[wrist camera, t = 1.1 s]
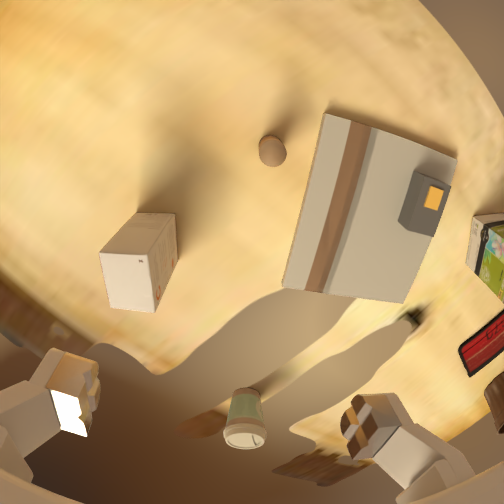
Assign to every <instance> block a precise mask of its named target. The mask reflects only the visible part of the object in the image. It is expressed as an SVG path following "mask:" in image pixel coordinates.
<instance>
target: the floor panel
mask: <svg viewBox="0 0 504 504" xmlns="http://www.w3.org/2000/svg"><path fill="white" fill-rule="evenodd" d="M457 161H458V160H456V159H454V158H452V157H450V156H447V155H445V154H443V153H440V152H438V151H436V150H433V149H431V148H428V147H426V146H423V145H421V144H418V143H416V142H413V141H411V140H408V139H405V138H403V137H400V136H397V135H394V134H391V133H388V132H386V131H383V130H380V129H377V128H374V127H371V126H367V125H364V124H361V123H358V122H354V121H351V120H348V119H344V118H341V117H337V116H333V115H330V114H326V113H323V118H322V122H321V127H320V131H319V135H318V140H317V144H316V148H315V153H314V157H313V161H312V165H311V170H310V174H309V178H308V182H307V186H306V190H305V194H304V198H303V202H302V206H301V210H300V214H299V218H298V222H297V226H296V230H295V234H294V237H293V241H292V245H291V249H290V253H289V256H288V260H287V264H286V268H285V271H284V275H283V279H282V287H286V288H293V289H300V290H306V291H313V292H320V293H327V294H334V295H341V296H348V297H355V298H363V299H370V300H378V301H386V302H394V303H402V304H403V303H404V300H405V298H406V296H407V294H408V292H409V290H410V288H411V286H412V284H413V281H414V279H415V277H416V275H417V273H418V270H419V268H420V266H421V263H422V261H423V259H424V256H425V254H426V251H427V249H428V246H429V244H430V241H431V239H432V237H431V236H427V235H423V234H419V233H416V232H412V231H408V230H406V229H405V228H404V227H403V226H402V225H401V224H400V223H399V222H398V218H399V215H400V212H401V209H402V206H403V203H404V200H405V196H406V193H407V190H408V187H409V183H410V180H411V177H412V173H413V170H414V171H417V172H420V173H422V174H425V175H428V176H431V177H433V178H436V179H439V180H441V181H443V182H445V183H446V184H448V185H451V181H452V178H453V175H454V171H455V168H456V164H457Z"/></svg>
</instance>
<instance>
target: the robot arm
mask: <svg viewBox="0 0 504 504" xmlns="http://www.w3.org/2000/svg"><path fill="white" fill-rule="evenodd" d="M98 372H99V369H98V363H97V362H95V361H92V360H89V359H86V358H83V357H80V356H77V355H74V354H71V353H68V352H64V351H61V350H58V349H55V348H52V349H50V350H49V351H48V352H47V354H46V355H45V357H44V358H43V360H42V362H41V363H40V365H39V366H38V368H37V369H36V371H35V373H34V374H33V376H32V377H31V379H30V381H29V382H28V381H26V380H24V381H22V382H20V383H18V384H15V385H13V386H11V387H9V388H7V389H4V390H2V391H0V504H83V503H80V502H77V501H74V500H71V499H68V498H66V497H63V496H60V495H57V494H55V493H53V492H50V491H48V490H45V489H43V488H40V487H38V486H36V485H34V484H31V481H32V478H33V473H32V471H31V469H30V468H29V466H28V465H27V463H26V462H25V460H24V459H23V458H24V457H25V456H26V455H28V454H29V453H31V452H32V451H33V450H35V449H36V448H37V447H39V446H40V445H42V444H43V443H44V442H46V441H47V440H48V439H50V438H51V437H52V436H54V435H55V434H56V433H58V432H59V431H61V429H64V430H67V431H71V432H74V433H77V434H81V435H84V436H87V434H88V431H89V428H90V425H91V423H92V416H91V412H93V411H94V410H96V408H97V405H98V402H99V397H100V381H99V380H98V379H97V374H98ZM351 405H352V407H350V408H349V409H347V410H346V411H345V412H344V414H343V416H342V417H341V423H340V427H341V432H342V435H343V436H344V437H345V438H346V439H348V443H347V448H348V451H349V453H350V456H351V459H352V460H358V459H367V458H373V460H374V461H375V462H376V463H377V464H378V465H379V466H380V467H381V468H382V469H383V470H384V471H386V472H387V473H388V474H389V475H390V476H391V477H392V478H393V479H394V480H395V481H396V482H397V483H398V484H400V485H401V486H402V487H403V488H404V489H405V490H404V491H403V492H402V493H401V494H399V495H398V496H397V498H396V502H397V504H504V461H502V462H500V463H499V464H497V465H495V466H493V467H491V468H490V469H488V470H486V471H484V472H482V473H480V474H478V475H475V474H474V472H473V470H472V468H471V467H470V465H469V464H468V462H467V460H466V459H465V457H464V455H463V453H462V452H461V451H459V450H457V449H456V448H454V447H453V446H451V445H450V444H448V443H446V442H445V441H443V440H442V439H440V438H439V437H437V436H436V435H434V434H432V433H431V432H429V431H428V430H426V429H425V428H423V427H422V426H420V425H419V424H414V423H413V421H412V419H411V418H410V416H409V414H408V413H407V411H406V409H405V408H404V406H403V404H402V403H401V401H400V399H399V398H398V396H397V395H396V394H395V393H382V394H358V395H356V396H355V397H354V398H353V399H352V401H351Z"/></svg>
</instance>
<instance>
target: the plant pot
mask: <svg viewBox="0 0 504 504" xmlns="http://www.w3.org/2000/svg"><path fill="white" fill-rule="evenodd" d="M484 396H485V398H486V400H487V402H488V405H489V407H490V410H491V412H492V414H493V417H494V420H495V426H496V429H497V434H498V435H500V434H504V372H503V373H501V374H500V375H498V376H497V377H496V378H495V379H494V380H493V382H492V383H491V384H489V385H488V386H487V388H486V390H485V392H484Z"/></svg>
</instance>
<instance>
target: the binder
mask: <svg viewBox="0 0 504 504" xmlns="http://www.w3.org/2000/svg"><path fill="white" fill-rule="evenodd" d="M503 351H504V310H503V311H502V312H501V313H500V314H499V315H498V316H497V317H496V318H494V319H493V320H492V321H491V322H490V323H489V324H488V325H487V326H485V327H484V328H483V329H482V330H481V331H480V332H478V333H477V334H476V335H474V336H473V337H471V338H469V339H467V340H466V341H465V342H463V343H462V344H461V345H460V347H459V349H458V352H459V355H460V358H461V360H462V362H463V365H464V367H465V369H466V370H467V373H468V376H469V377H471V376H473V375H474V374H476V373H477V372H478V371H479V370H481V369H482V368H483V367H485V366H486V365H487V364H488V363H490V362H491V361H492V360H493V359H494V358H496V357H497V356H498V355H499V354H500V353H502V352H503Z"/></svg>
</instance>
